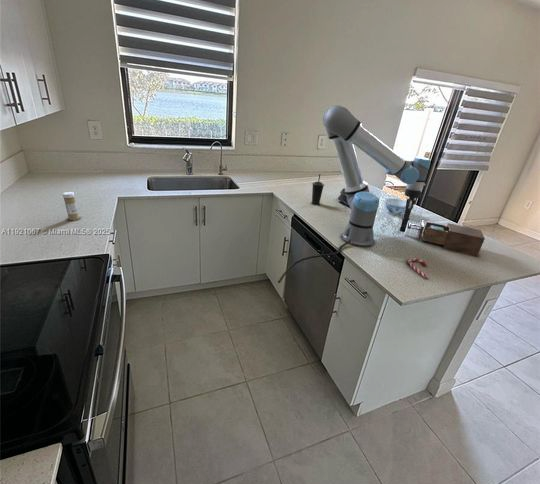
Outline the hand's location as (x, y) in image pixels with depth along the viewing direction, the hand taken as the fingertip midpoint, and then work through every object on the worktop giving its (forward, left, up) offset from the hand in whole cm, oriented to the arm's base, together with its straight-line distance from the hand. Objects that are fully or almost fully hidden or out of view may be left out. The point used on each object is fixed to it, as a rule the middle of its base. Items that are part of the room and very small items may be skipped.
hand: (402, 231), depth 155 cm
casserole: (+37, +35, -2) cm, 51 cm away
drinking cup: (+19, +55, -2) cm, 58 cm away
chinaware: (+33, +6, -2) cm, 33 cm away
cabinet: (0, -27, -2) cm, 27 cm away
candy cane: (-35, -9, -2) cm, 36 cm away
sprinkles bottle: (-81, +149, -2) cm, 169 cm away
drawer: (0, -12, -1) cm, 12 cm away
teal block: (0, -15, 0) cm, 15 cm away
